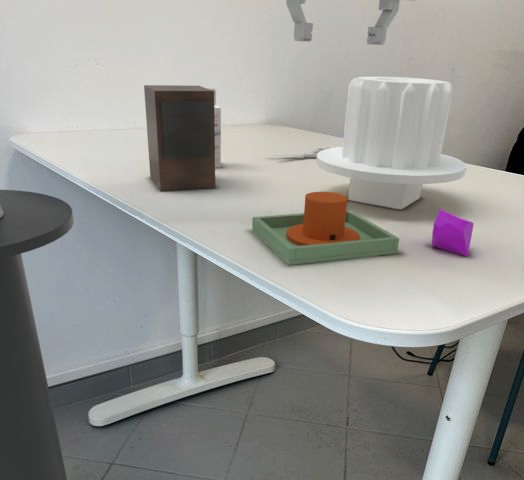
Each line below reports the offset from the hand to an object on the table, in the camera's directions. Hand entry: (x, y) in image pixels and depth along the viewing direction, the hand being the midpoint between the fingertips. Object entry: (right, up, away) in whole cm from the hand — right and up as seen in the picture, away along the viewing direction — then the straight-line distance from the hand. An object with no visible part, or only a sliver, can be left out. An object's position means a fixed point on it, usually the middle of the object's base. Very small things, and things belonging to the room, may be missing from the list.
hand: (339, 43), depth 62 cm
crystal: (+17, -22, +12) cm, 30 cm away
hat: (-1, -20, +12) cm, 23 cm away
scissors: (+2, +10, +63) cm, 64 cm away
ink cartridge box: (-22, +3, +52) cm, 56 cm away
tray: (-1, -21, +12) cm, 24 cm away
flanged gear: (+13, -9, +33) cm, 37 cm away
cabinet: (-24, -4, +38) cm, 45 cm away
